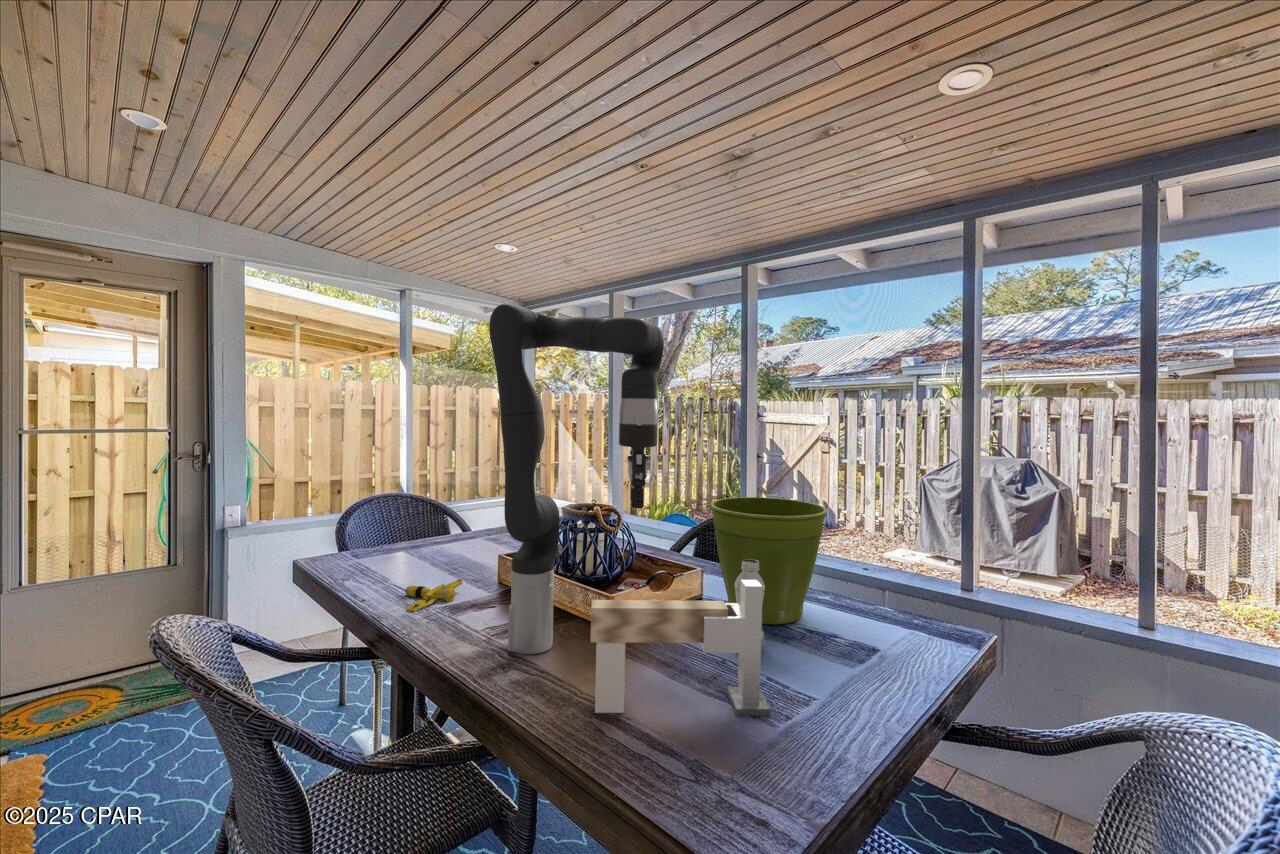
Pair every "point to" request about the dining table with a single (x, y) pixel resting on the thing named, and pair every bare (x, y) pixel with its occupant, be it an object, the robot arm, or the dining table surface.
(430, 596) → the sprinkler
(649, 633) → the maple rail
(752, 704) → the cup bracket
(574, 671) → the dining table surface
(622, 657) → the block
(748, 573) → the plastic bottle
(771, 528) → the plant pot
